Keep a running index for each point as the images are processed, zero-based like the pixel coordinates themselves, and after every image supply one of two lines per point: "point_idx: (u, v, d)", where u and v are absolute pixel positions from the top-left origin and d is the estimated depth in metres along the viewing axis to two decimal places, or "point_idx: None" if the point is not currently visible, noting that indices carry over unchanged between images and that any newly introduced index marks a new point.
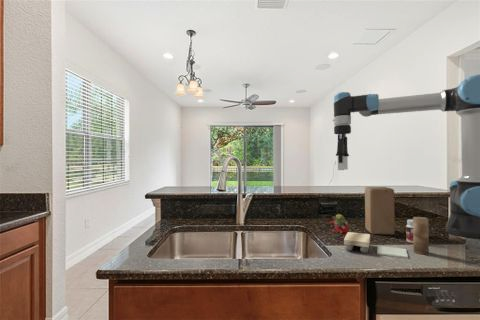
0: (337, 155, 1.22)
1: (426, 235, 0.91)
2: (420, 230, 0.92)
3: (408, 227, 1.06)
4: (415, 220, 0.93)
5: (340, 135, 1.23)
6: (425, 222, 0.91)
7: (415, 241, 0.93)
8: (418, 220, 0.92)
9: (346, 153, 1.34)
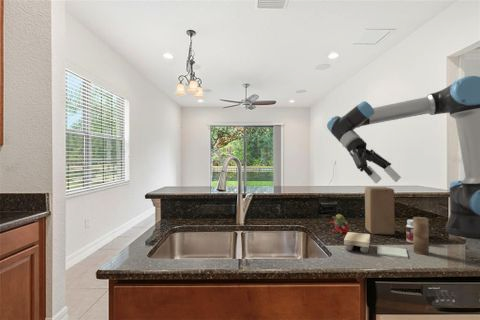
0: (362, 170, 1.03)
1: (426, 235, 0.91)
2: (420, 230, 0.92)
3: (408, 227, 1.06)
4: (415, 220, 0.93)
5: (351, 151, 1.09)
6: (425, 222, 0.91)
7: (415, 241, 0.93)
8: (418, 220, 0.92)
9: (385, 163, 1.11)
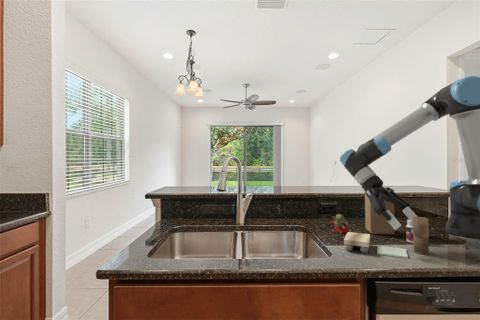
0: (380, 214, 0.97)
1: (426, 235, 0.91)
2: (420, 230, 0.92)
3: (408, 227, 1.06)
4: (415, 220, 0.93)
5: (367, 192, 1.02)
6: (425, 222, 0.91)
7: (415, 241, 0.93)
8: (418, 220, 0.92)
9: (403, 204, 1.04)
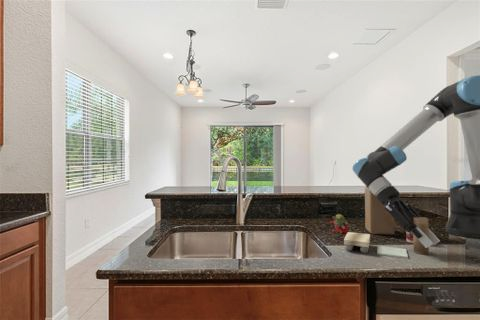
0: None
1: (426, 235, 0.91)
2: None
3: None
4: (415, 220, 0.93)
5: (387, 207, 0.97)
6: (425, 222, 0.91)
7: (415, 241, 0.93)
8: (418, 220, 0.92)
9: None
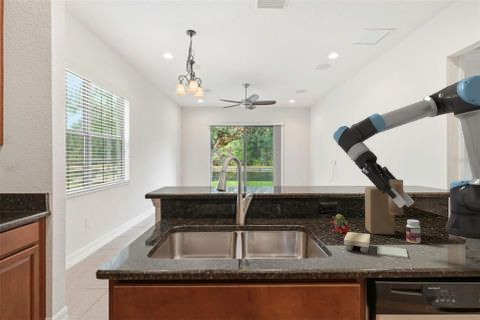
0: (385, 192, 0.94)
1: None
2: (395, 190, 0.93)
3: (408, 227, 1.06)
4: (390, 181, 0.94)
5: (364, 170, 0.98)
6: (400, 182, 0.92)
7: (390, 202, 0.94)
8: (393, 181, 0.93)
9: None
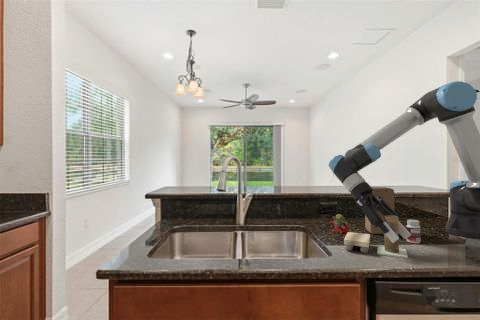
0: (377, 226, 0.93)
1: (396, 233, 0.92)
2: None
3: (408, 227, 1.06)
4: (385, 218, 0.94)
5: (358, 202, 0.98)
6: (395, 220, 0.92)
7: (385, 239, 0.94)
8: (388, 218, 0.93)
9: None
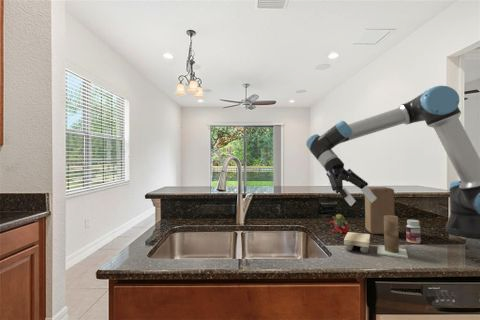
0: (337, 192, 1.03)
1: (396, 233, 0.92)
2: (390, 228, 0.93)
3: (408, 227, 1.06)
4: (385, 218, 0.94)
5: (328, 172, 1.09)
6: (395, 220, 0.92)
7: (385, 239, 0.94)
8: (388, 218, 0.93)
9: (361, 183, 1.11)
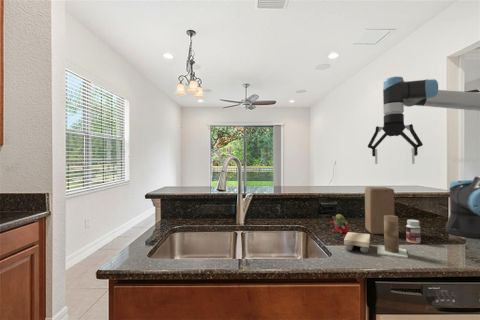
0: None
1: (396, 233, 0.92)
2: (390, 228, 0.93)
3: (408, 227, 1.06)
4: (385, 218, 0.94)
5: (376, 127, 1.18)
6: (395, 220, 0.92)
7: (385, 239, 0.94)
8: (388, 218, 0.93)
9: (411, 144, 1.11)
